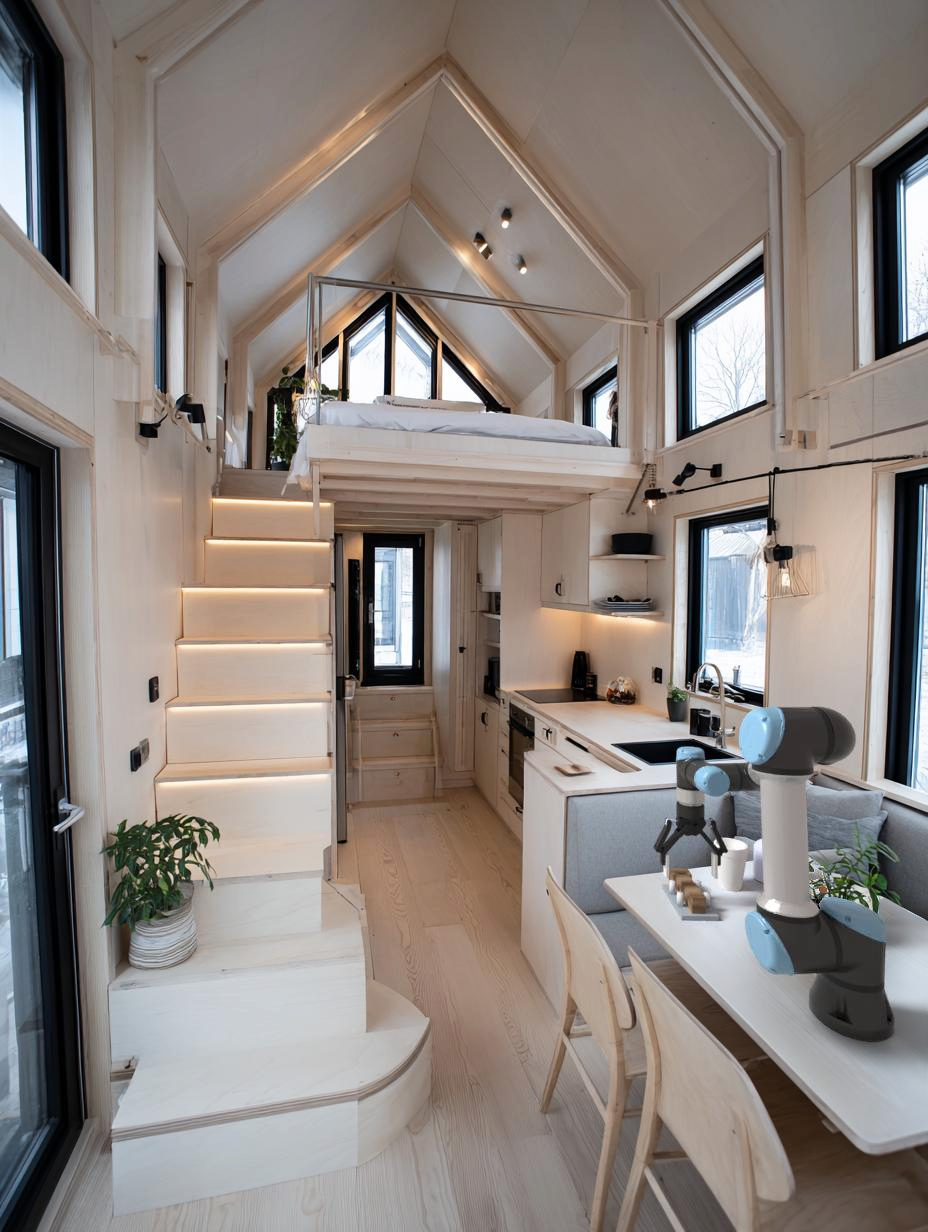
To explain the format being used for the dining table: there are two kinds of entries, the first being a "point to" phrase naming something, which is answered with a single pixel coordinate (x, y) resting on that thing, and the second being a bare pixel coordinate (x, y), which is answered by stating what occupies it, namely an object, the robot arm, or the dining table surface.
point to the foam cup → (732, 864)
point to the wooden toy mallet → (688, 890)
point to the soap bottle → (758, 861)
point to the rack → (682, 908)
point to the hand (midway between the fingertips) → (690, 876)
